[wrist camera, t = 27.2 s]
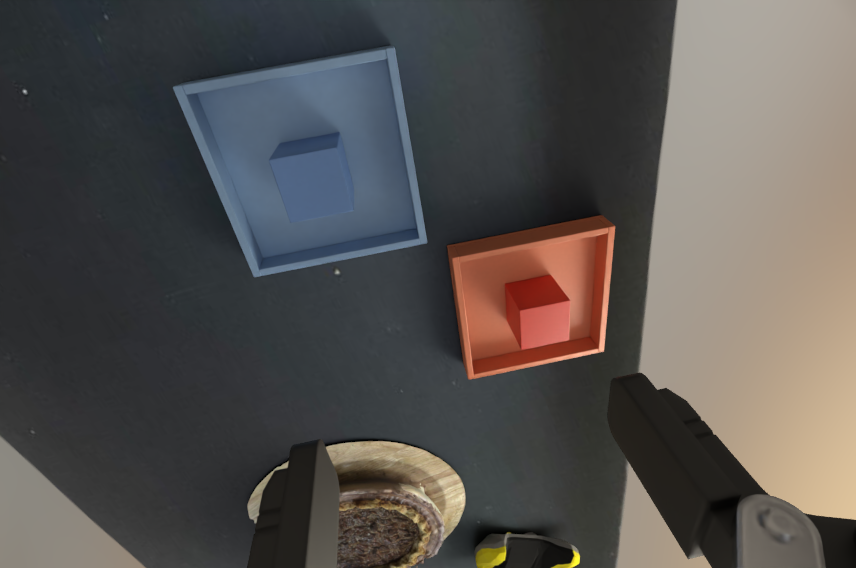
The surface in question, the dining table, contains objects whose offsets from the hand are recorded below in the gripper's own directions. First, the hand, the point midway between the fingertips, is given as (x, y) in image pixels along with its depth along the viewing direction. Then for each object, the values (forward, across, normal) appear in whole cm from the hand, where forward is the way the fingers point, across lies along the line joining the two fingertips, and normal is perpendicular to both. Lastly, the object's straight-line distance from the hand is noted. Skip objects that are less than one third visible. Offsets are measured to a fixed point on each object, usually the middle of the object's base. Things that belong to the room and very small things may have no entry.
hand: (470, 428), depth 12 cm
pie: (+26, +13, +44) cm, 53 cm away
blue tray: (+26, +6, -1) cm, 27 cm away
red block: (+26, -10, +15) cm, 31 cm away
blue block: (+26, +6, -1) cm, 26 cm away
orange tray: (+26, -10, +15) cm, 32 cm away
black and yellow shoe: (+26, -7, +59) cm, 65 cm away
